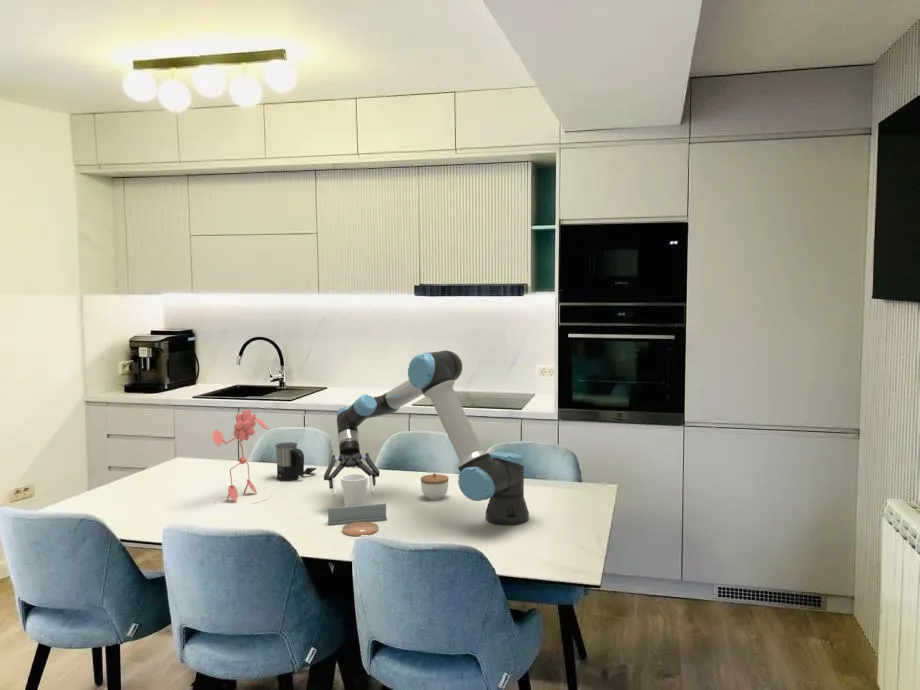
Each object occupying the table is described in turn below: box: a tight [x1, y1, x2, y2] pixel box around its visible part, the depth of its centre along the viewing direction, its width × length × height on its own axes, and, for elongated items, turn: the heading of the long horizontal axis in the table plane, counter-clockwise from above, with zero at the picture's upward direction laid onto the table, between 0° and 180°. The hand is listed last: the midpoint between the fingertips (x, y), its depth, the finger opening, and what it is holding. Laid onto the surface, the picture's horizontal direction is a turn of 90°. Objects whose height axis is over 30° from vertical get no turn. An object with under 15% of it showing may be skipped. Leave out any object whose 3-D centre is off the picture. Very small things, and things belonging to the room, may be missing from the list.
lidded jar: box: [420, 472, 449, 501], centre depth 290 cm, size 11×11×9 cm
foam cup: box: [340, 473, 368, 507], centre depth 272 cm, size 10×9×13 cm
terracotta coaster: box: [342, 522, 379, 537], centre depth 253 cm, size 12×12×1 cm
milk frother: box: [275, 442, 317, 482], centre depth 323 cm, size 14×16×15 cm
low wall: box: [327, 502, 388, 526], centre depth 263 cm, size 20×4×5 cm, turn 103°
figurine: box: [212, 408, 272, 505], centre depth 290 cm, size 15×26×35 cm, turn 153°
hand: (353, 494), depth 272 cm, fingers open, 13 cm apart
